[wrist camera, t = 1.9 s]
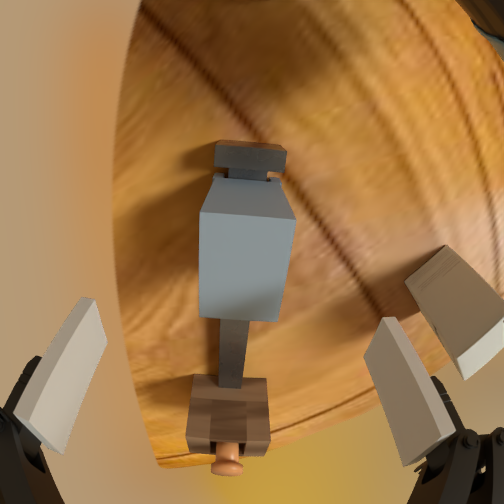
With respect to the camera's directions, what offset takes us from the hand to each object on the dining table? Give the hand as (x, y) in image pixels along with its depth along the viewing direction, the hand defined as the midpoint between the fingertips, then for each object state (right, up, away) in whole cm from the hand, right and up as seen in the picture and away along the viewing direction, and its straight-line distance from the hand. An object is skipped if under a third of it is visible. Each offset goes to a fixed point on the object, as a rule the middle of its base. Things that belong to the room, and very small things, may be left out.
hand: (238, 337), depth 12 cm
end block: (-3, -16, +25) cm, 30 cm away
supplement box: (+23, 0, +18) cm, 29 cm away
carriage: (0, +7, +13) cm, 15 cm away
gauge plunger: (-3, -19, +19) cm, 27 cm away
